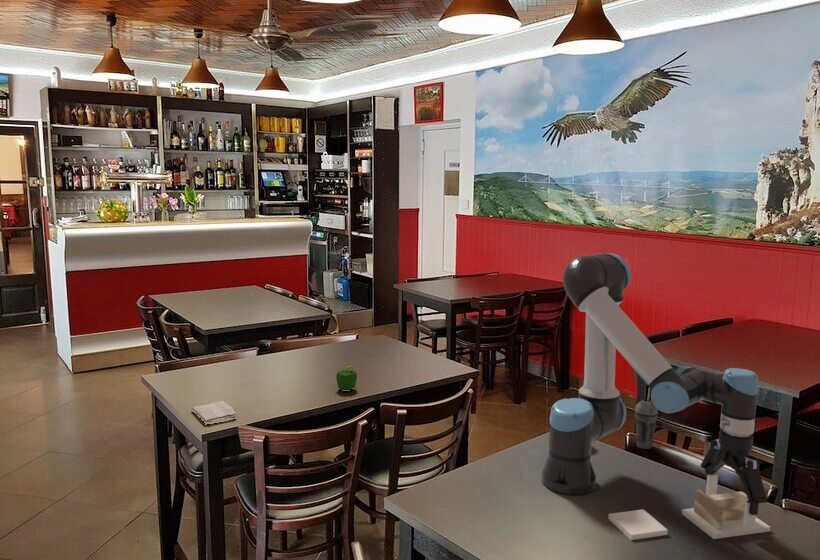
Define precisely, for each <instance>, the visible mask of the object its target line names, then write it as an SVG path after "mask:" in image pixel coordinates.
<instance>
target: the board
mask: <svg viewBox="0 0 820 560" xmlns="http://www.w3.org/2000/svg"><path fill="white" fill-rule="evenodd" d="M681 515H683V517H685V518H687V519H688V520H689V521H690V522H692V523H693V524H694V525H695V526H697V527H698V528H699V529H700V530H702V531H703V532H704V533H706V534H707V535H708V536H709V537H710V538H712V539H713V540H716V539H724V538H731V537H739V536H747V535H752V534H760V533H761V534H762V533H766V532H767V533H768V532H771V526H770V525H768V524H767V523H766V522H764V521H762V520H761V519H759V518H758V517H757V516H756V519H755V525H754V526H747V527H745V526H744V525H743V521H744V519H740V520H732V521H724V522H722V529H721V530H717V529H716V528H714V527H713V526H712V525H710V524H709V523H708V522H707V521H705V520H704V519H703V518H701V517H700V516H699V515H698V514H696V513H695V512H694V507H691V508H683V509H681Z"/></svg>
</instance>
